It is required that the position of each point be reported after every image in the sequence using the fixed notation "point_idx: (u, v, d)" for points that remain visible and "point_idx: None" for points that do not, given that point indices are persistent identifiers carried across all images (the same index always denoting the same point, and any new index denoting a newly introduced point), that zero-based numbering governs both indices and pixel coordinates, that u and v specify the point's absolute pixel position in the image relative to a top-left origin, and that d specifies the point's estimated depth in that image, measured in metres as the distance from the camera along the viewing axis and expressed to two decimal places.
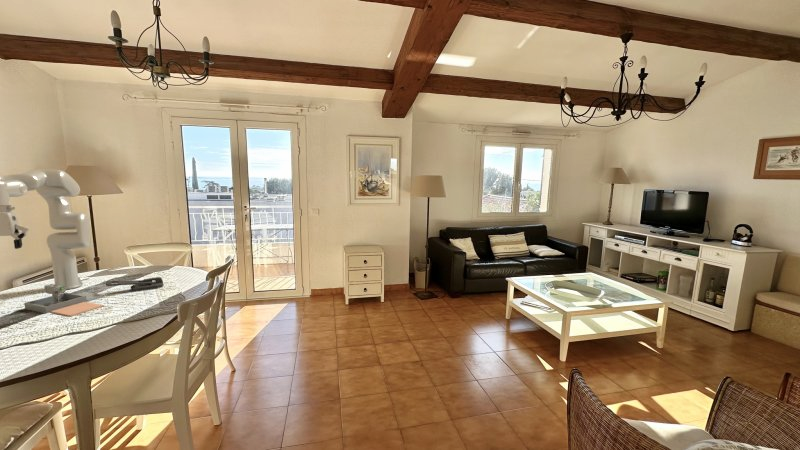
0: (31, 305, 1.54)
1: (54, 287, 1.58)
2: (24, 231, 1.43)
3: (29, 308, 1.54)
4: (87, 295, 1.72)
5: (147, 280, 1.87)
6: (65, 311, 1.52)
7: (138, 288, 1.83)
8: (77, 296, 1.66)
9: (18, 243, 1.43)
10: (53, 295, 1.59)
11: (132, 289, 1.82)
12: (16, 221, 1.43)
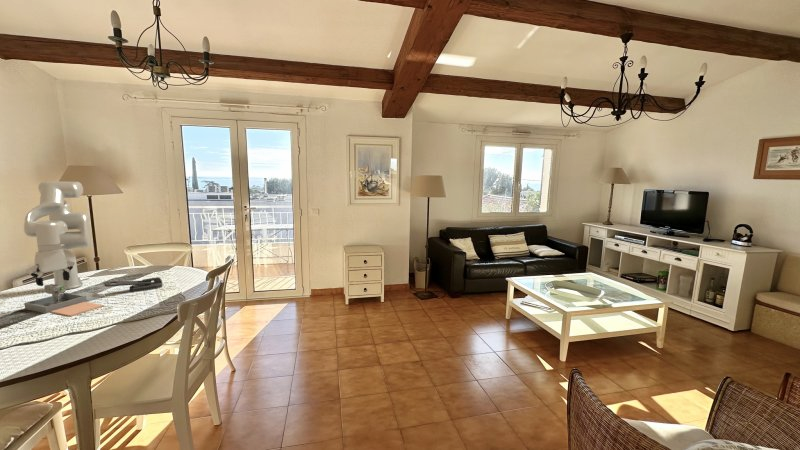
0: (31, 305, 1.54)
1: (54, 287, 1.58)
2: (73, 264, 1.65)
3: (29, 308, 1.54)
4: (87, 295, 1.72)
5: (146, 280, 1.86)
6: (65, 311, 1.52)
7: (137, 288, 1.82)
8: (77, 296, 1.66)
9: None
10: (53, 295, 1.59)
11: (131, 289, 1.81)
12: None
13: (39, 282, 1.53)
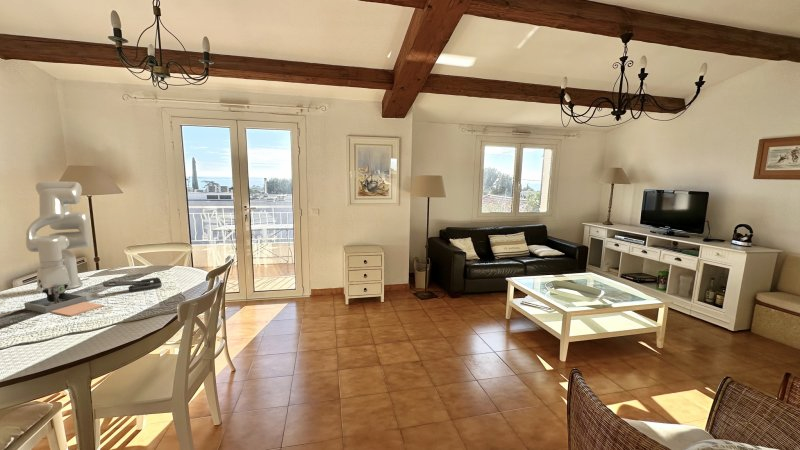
0: (31, 305, 1.54)
1: (54, 287, 1.58)
2: (69, 283, 1.64)
3: (29, 308, 1.54)
4: (87, 295, 1.72)
5: (145, 280, 1.86)
6: (65, 311, 1.52)
7: (136, 289, 1.82)
8: (77, 296, 1.66)
9: (63, 294, 1.62)
10: None
11: (130, 290, 1.81)
12: None
13: (50, 298, 1.58)
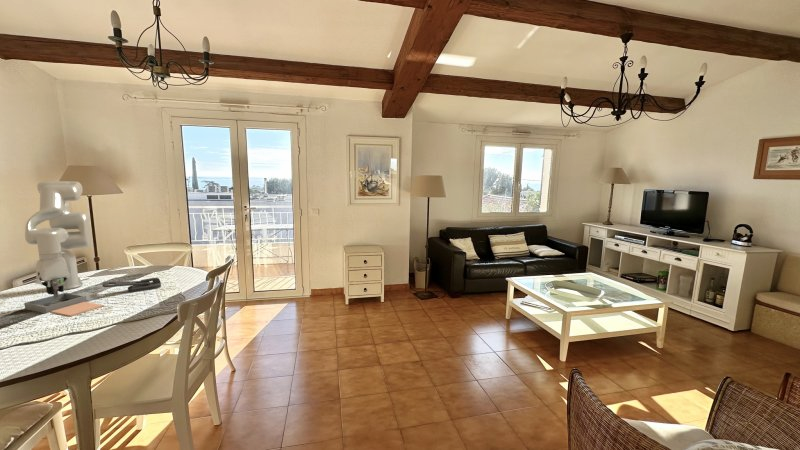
0: (31, 305, 1.54)
1: (53, 280, 1.58)
2: (68, 276, 1.64)
3: (29, 308, 1.54)
4: (87, 295, 1.72)
5: (145, 281, 1.86)
6: (65, 311, 1.52)
7: (136, 289, 1.81)
8: (77, 296, 1.66)
9: (62, 287, 1.62)
10: None
11: (130, 290, 1.80)
12: None
13: (49, 291, 1.58)
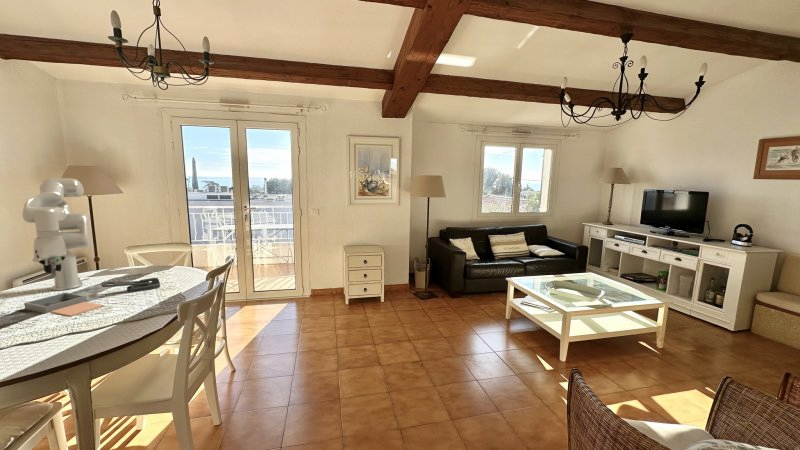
0: (31, 305, 1.54)
1: (51, 258, 1.56)
2: (66, 256, 1.62)
3: (29, 308, 1.54)
4: (87, 295, 1.72)
5: (144, 281, 1.85)
6: (65, 311, 1.52)
7: (135, 289, 1.81)
8: (77, 296, 1.66)
9: (60, 266, 1.60)
10: None
11: (129, 290, 1.80)
12: None
13: (47, 269, 1.56)
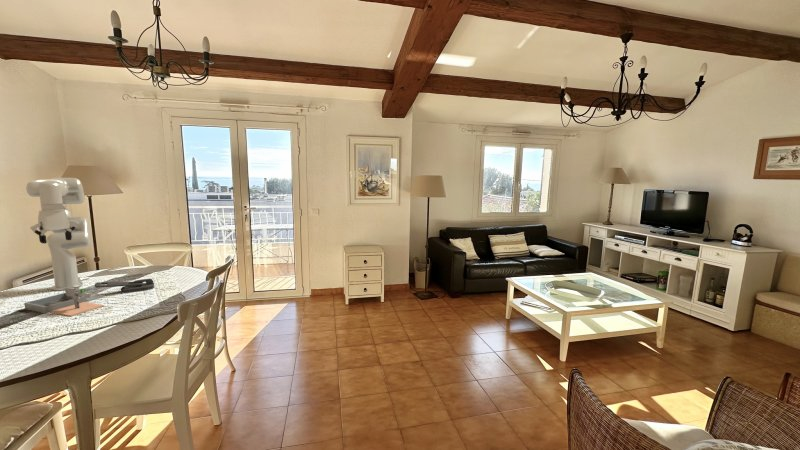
0: (31, 305, 1.54)
1: (75, 289, 1.54)
2: (74, 225, 1.70)
3: (29, 308, 1.54)
4: (87, 295, 1.72)
5: (137, 281, 1.84)
6: (65, 311, 1.52)
7: (128, 290, 1.80)
8: None
9: (70, 235, 1.69)
10: (74, 298, 1.54)
11: (122, 291, 1.79)
12: None
13: (42, 240, 1.59)
